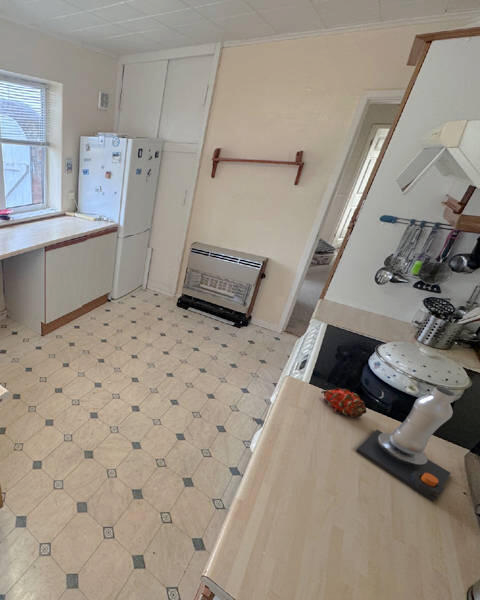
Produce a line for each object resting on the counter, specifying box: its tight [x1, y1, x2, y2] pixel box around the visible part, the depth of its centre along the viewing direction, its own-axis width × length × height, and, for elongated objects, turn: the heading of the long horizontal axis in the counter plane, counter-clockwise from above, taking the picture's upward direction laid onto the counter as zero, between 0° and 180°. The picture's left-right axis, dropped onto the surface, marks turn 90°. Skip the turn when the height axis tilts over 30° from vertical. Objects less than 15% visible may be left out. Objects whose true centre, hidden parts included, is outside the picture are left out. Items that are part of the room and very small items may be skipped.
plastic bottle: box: [390, 386, 457, 454], centre depth 83 cm, size 6×7×20 cm
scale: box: [355, 429, 452, 503], centre depth 86 cm, size 16×14×4 cm
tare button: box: [421, 473, 439, 487], centre depth 79 cm, size 3×3×2 cm
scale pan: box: [378, 432, 428, 466], centre depth 87 cm, size 10×10×1 cm
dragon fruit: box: [320, 387, 367, 419], centre depth 103 cm, size 8×8×12 cm
